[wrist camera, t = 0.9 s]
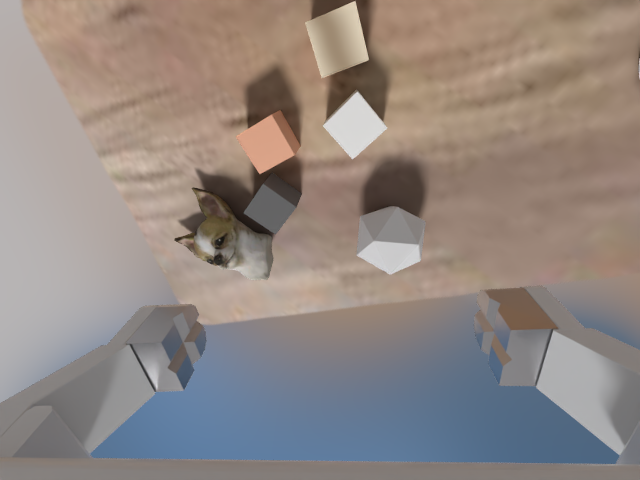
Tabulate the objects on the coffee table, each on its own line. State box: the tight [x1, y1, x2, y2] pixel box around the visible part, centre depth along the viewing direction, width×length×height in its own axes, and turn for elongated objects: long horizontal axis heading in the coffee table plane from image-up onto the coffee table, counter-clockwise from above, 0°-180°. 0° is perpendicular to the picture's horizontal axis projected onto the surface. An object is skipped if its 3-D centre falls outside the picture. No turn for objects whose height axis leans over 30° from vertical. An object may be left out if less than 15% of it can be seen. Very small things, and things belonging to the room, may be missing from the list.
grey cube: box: [323, 89, 387, 159], centre depth 36 cm, size 5×5×5 cm
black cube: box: [244, 173, 302, 235], centre depth 42 cm, size 5×5×5 cm
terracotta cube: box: [236, 110, 301, 174], centre depth 38 cm, size 5×5×5 cm
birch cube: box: [305, 1, 369, 78], centre depth 33 cm, size 5×5×5 cm
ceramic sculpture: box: [174, 188, 273, 280], centre depth 44 cm, size 11×9×15 cm
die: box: [357, 206, 426, 274], centre depth 41 cm, size 8×9×10 cm
